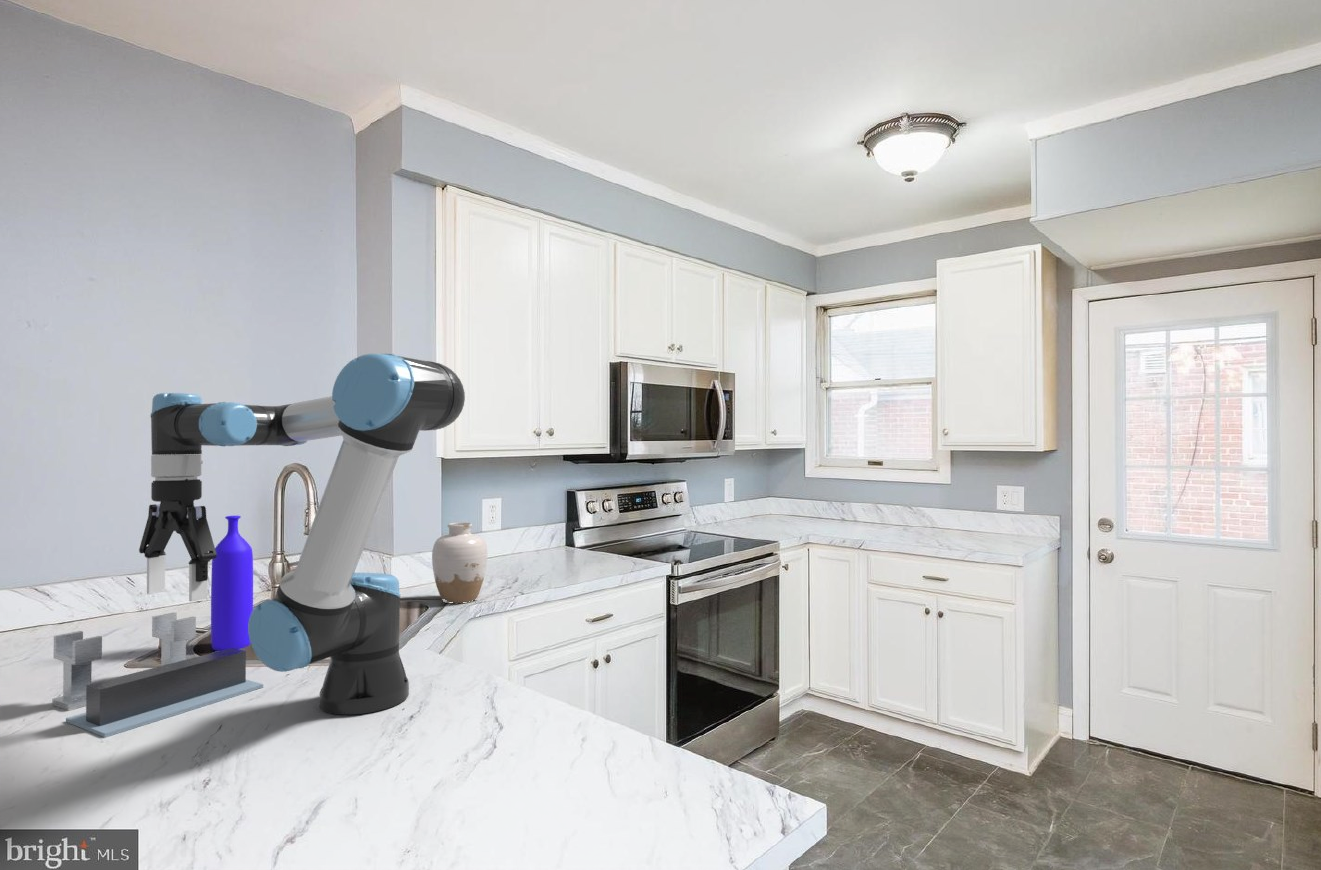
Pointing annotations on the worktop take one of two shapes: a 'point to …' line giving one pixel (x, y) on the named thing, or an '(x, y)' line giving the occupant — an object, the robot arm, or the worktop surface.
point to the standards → (85, 651)
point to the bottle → (231, 590)
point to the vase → (459, 563)
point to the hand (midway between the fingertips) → (176, 596)
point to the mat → (163, 710)
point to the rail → (163, 686)
